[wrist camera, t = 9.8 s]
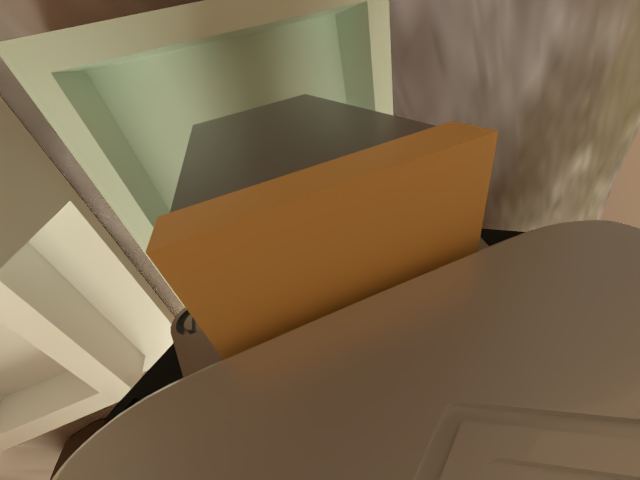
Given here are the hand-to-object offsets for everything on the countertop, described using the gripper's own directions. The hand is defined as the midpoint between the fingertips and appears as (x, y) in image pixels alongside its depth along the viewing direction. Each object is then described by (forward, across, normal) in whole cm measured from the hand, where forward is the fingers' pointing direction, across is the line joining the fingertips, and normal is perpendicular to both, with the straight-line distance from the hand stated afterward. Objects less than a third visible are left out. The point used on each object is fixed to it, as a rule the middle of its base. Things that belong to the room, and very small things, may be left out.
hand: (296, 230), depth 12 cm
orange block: (+3, 0, 0) cm, 3 cm away
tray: (+8, 0, 0) cm, 8 cm away
